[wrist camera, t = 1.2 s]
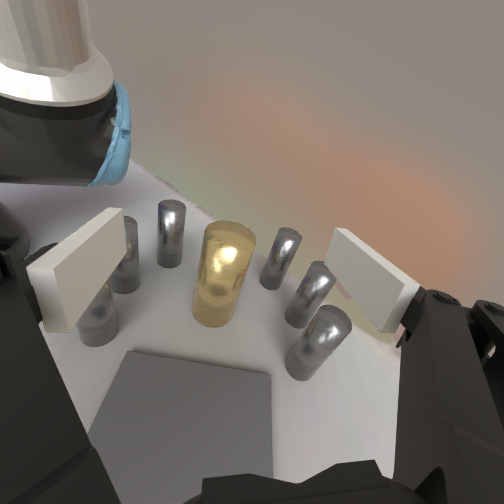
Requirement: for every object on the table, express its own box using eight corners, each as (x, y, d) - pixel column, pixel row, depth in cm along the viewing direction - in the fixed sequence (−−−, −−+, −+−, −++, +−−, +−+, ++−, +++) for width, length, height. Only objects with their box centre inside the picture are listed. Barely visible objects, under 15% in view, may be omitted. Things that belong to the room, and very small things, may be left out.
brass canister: (183, 306, 33) (193, 228, 25) (214, 288, 37) (231, 216, 29) (210, 335, 31) (230, 259, 23) (240, 313, 34) (266, 241, 27)
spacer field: (68, 342, 26) (42, 277, 20) (137, 245, 40) (134, 190, 34) (318, 384, 29) (361, 339, 23) (300, 281, 43) (324, 236, 37)
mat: (0, 623, 14) (-5, 625, 13) (127, 354, 26) (127, 351, 26) (272, 632, 15) (275, 634, 15) (268, 377, 28) (270, 374, 28)
